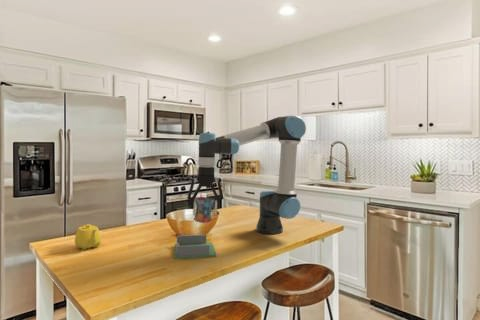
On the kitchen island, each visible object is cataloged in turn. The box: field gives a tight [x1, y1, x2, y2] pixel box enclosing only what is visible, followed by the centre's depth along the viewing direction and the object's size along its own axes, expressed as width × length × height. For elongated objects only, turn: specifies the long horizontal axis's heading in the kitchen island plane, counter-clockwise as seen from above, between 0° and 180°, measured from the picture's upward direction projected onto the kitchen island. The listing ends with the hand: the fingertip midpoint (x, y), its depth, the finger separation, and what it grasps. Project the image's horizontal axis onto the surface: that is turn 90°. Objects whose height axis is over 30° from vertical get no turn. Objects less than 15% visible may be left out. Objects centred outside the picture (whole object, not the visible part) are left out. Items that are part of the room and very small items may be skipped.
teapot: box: [74, 223, 102, 251], centre depth 153 cm, size 18×11×11 cm, turn 42°
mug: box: [193, 196, 215, 224], centre depth 151 cm, size 12×9×11 cm
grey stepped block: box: [174, 233, 217, 260], centre depth 149 cm, size 18×18×5 cm
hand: (205, 214), depth 150 cm, fingers closed on mug, 9 cm apart
